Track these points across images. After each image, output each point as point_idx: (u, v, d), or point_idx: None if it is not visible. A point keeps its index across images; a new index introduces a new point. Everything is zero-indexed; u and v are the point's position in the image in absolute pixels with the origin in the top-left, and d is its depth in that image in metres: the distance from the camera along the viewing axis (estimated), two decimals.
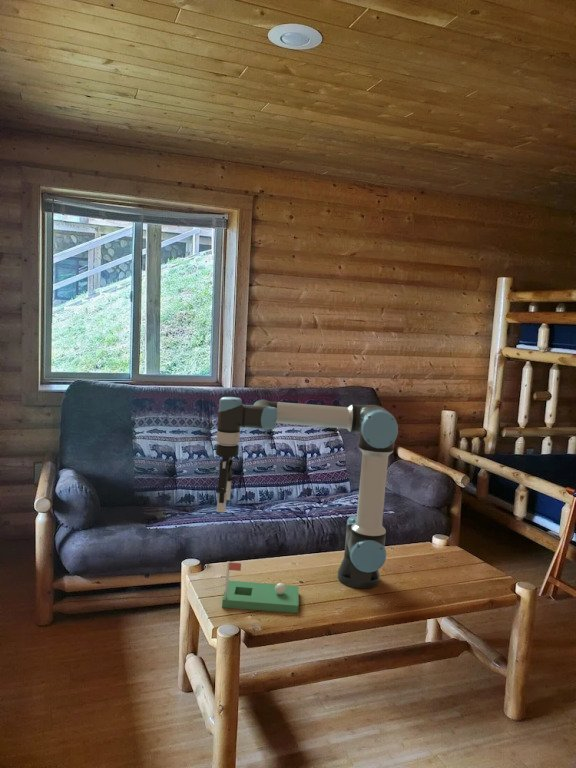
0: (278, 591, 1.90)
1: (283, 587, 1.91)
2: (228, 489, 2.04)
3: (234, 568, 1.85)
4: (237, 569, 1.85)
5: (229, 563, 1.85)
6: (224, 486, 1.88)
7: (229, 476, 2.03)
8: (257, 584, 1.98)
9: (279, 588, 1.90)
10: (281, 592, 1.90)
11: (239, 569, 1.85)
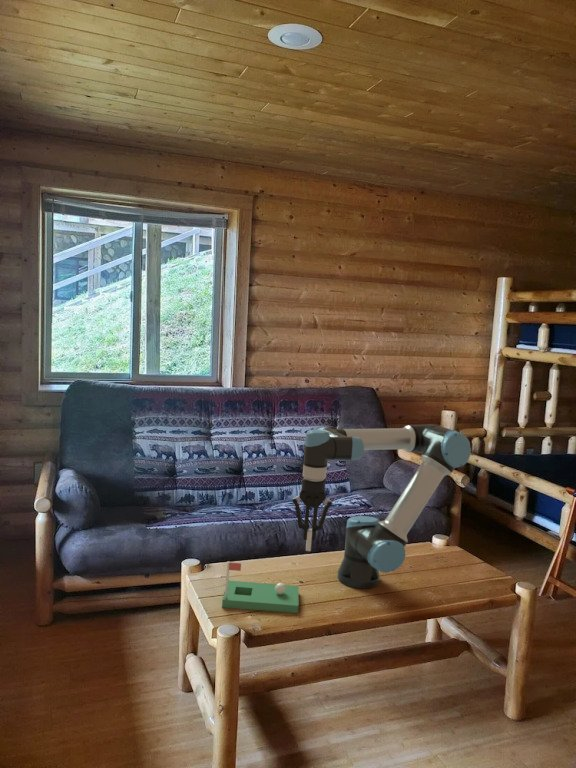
0: (278, 591, 1.90)
1: (283, 587, 1.91)
2: None
3: (234, 568, 1.85)
4: (237, 569, 1.85)
5: (229, 563, 1.85)
6: (298, 522, 1.88)
7: (312, 522, 1.89)
8: (257, 584, 1.98)
9: (279, 588, 1.90)
10: (281, 592, 1.90)
11: (239, 569, 1.85)
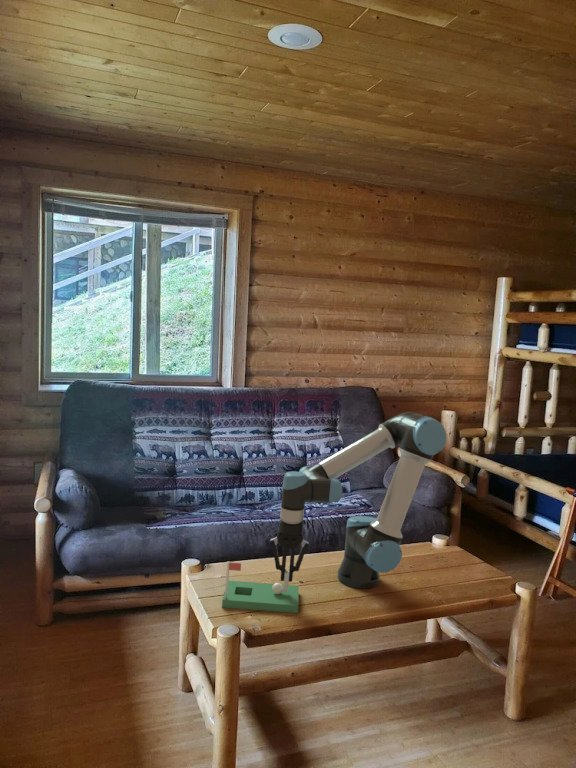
0: (275, 592, 1.90)
1: (278, 586, 1.91)
2: None
3: (234, 568, 1.85)
4: (237, 569, 1.85)
5: (229, 563, 1.85)
6: None
7: None
8: (257, 584, 1.98)
9: (276, 589, 1.90)
10: (279, 591, 1.90)
11: (239, 569, 1.85)
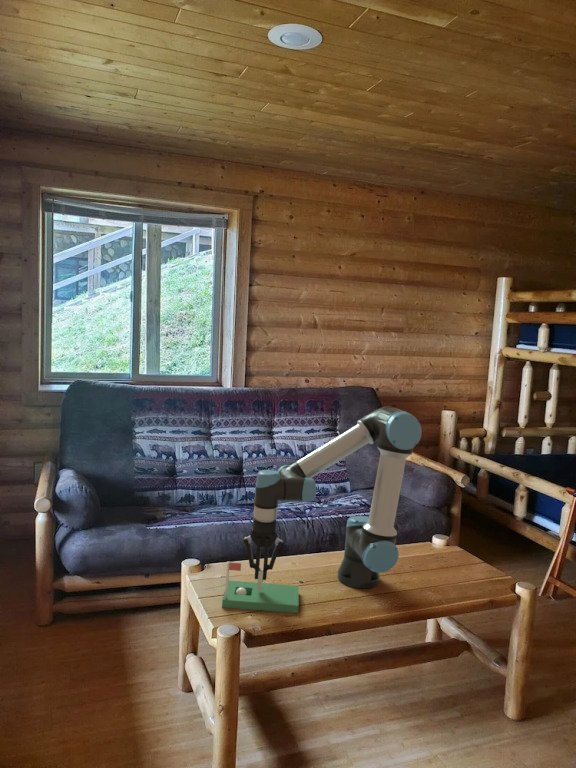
0: None
1: (239, 591, 1.91)
2: None
3: (234, 568, 1.85)
4: (237, 569, 1.85)
5: (229, 563, 1.85)
6: (249, 562, 1.90)
7: None
8: (257, 584, 1.98)
9: None
10: None
11: (239, 569, 1.85)
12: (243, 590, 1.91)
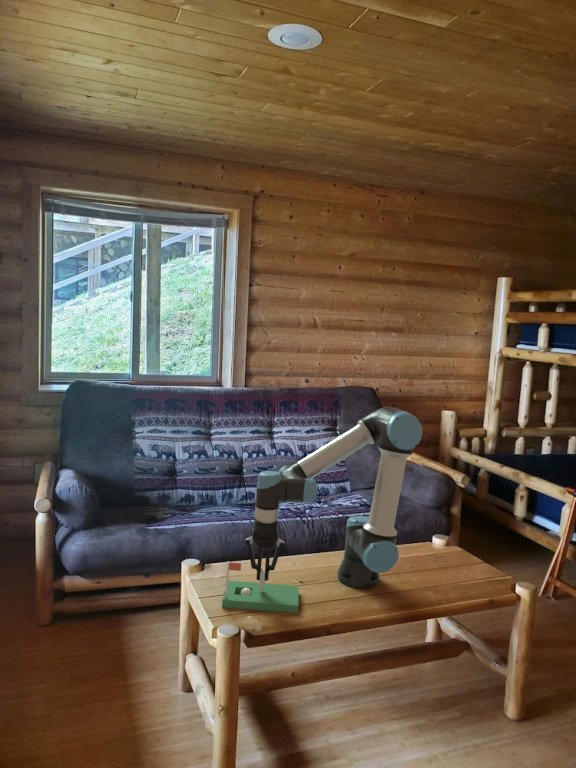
0: None
1: (247, 591, 1.91)
2: None
3: (234, 568, 1.85)
4: (237, 569, 1.85)
5: (229, 563, 1.85)
6: (251, 563, 1.90)
7: None
8: (257, 584, 1.98)
9: (244, 594, 1.90)
10: None
11: (239, 569, 1.85)
12: (250, 594, 1.91)
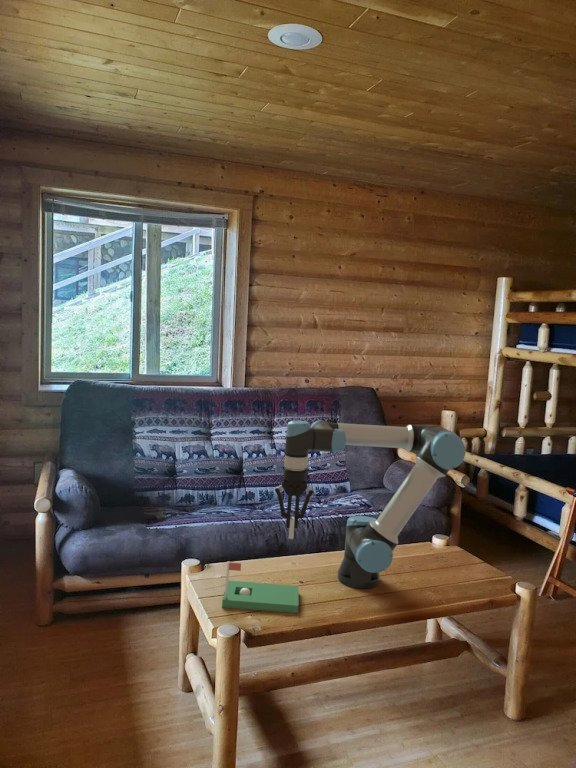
0: None
1: (245, 591, 1.91)
2: None
3: (234, 568, 1.85)
4: (237, 569, 1.85)
5: (229, 563, 1.85)
6: None
7: (295, 510, 1.94)
8: (257, 584, 1.98)
9: (242, 594, 1.90)
10: None
11: (239, 569, 1.85)
12: (249, 593, 1.91)
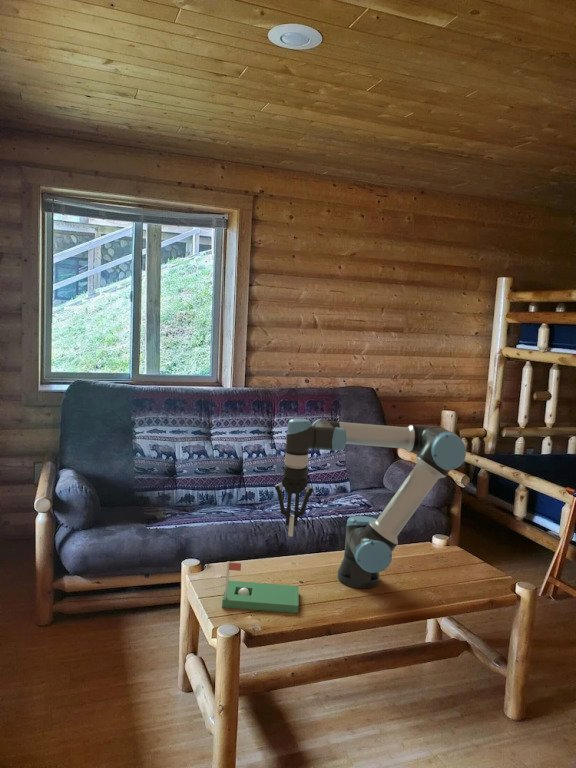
0: None
1: (243, 591, 1.91)
2: None
3: (234, 568, 1.85)
4: (237, 569, 1.85)
5: (229, 563, 1.85)
6: (280, 508, 1.94)
7: None
8: (257, 584, 1.98)
9: (241, 594, 1.90)
10: None
11: (239, 569, 1.85)
12: (247, 592, 1.91)
